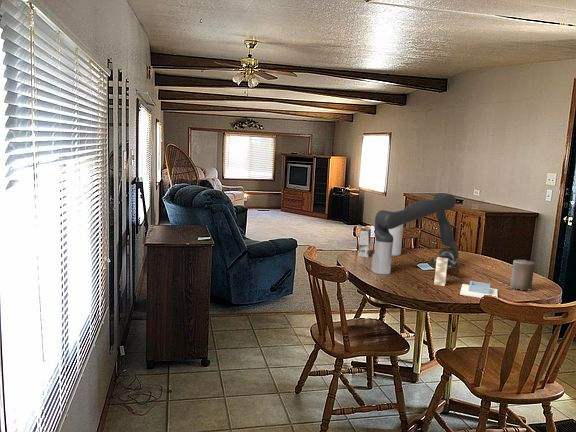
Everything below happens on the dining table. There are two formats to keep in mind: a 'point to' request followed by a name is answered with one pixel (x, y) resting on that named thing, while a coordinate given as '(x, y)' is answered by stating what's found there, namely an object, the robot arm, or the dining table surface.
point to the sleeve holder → (477, 289)
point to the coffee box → (364, 242)
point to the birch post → (441, 271)
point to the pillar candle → (522, 274)
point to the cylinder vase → (396, 239)
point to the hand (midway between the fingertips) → (443, 265)
